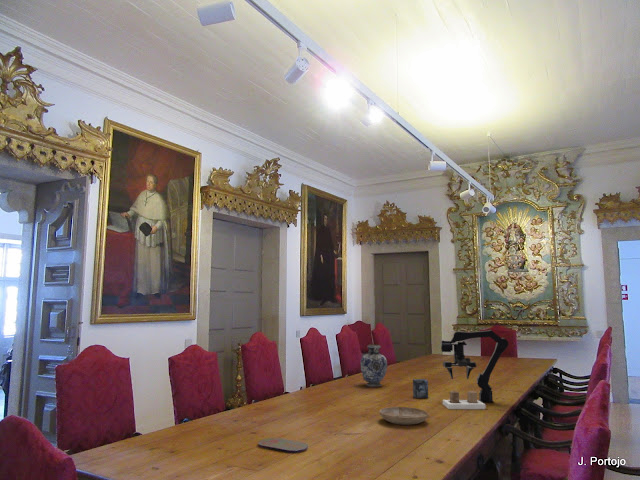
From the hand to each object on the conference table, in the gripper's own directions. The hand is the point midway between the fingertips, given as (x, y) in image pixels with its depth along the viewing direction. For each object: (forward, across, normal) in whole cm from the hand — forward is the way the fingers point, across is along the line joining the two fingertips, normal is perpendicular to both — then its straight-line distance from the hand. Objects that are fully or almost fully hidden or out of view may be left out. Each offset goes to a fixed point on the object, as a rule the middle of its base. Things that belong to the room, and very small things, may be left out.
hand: (459, 379), depth 280 cm
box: (+12, -22, +8) cm, 26 cm away
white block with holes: (+12, -4, -18) cm, 22 cm away
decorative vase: (+12, -45, +49) cm, 68 cm away
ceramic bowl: (+12, -44, -51) cm, 68 cm away
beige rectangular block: (+12, -9, -18) cm, 23 cm away
